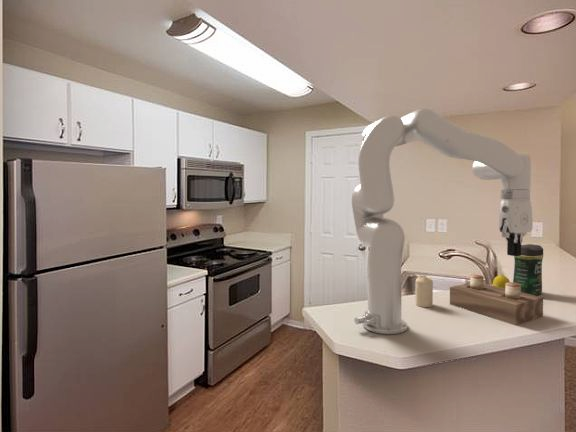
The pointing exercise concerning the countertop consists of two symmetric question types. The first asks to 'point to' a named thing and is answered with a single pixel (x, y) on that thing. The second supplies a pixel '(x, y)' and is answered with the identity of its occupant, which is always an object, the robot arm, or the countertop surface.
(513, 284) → the peg near
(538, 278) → the coffee jar
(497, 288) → the block
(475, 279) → the peg far
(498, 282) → the lemon
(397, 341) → the countertop surface
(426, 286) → the candle
